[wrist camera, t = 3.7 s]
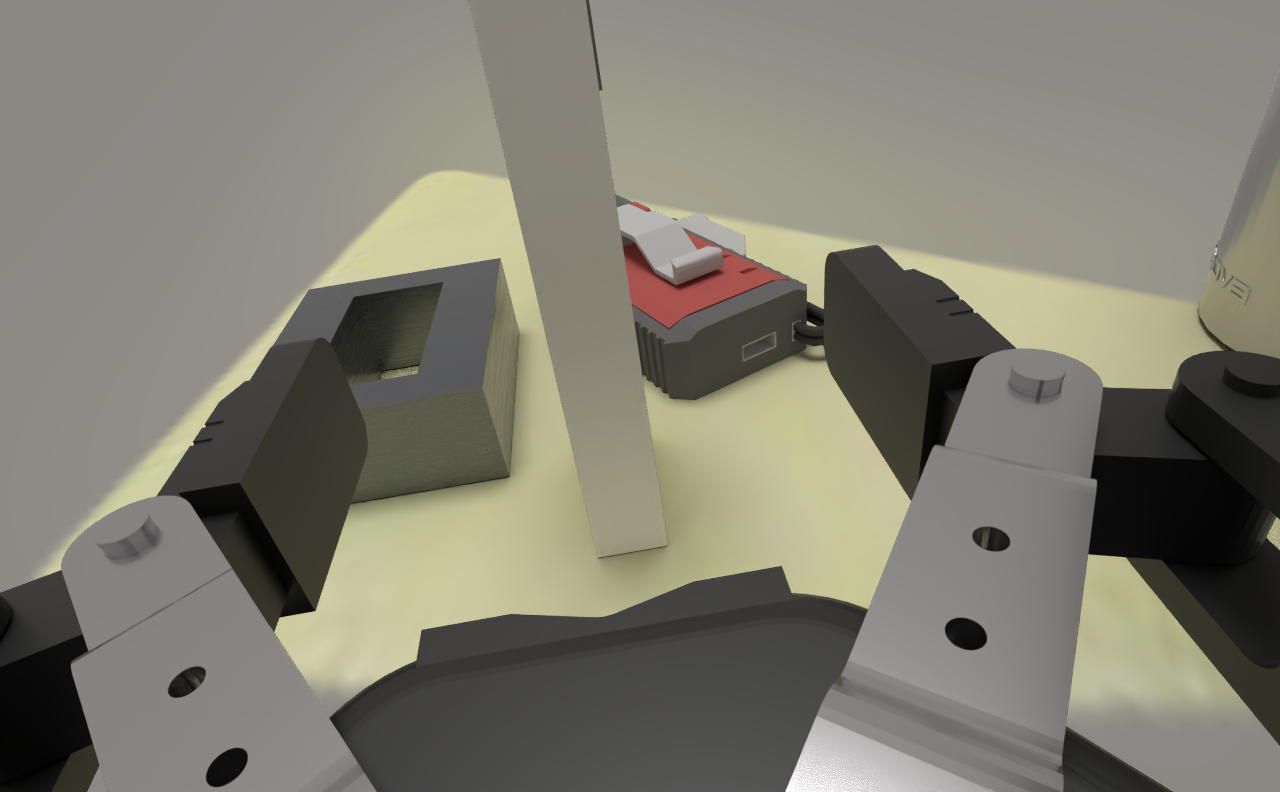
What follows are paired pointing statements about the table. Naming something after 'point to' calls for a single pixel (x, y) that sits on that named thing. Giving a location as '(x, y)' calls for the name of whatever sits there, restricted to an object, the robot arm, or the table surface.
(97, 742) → the robot arm
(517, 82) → the white tall block
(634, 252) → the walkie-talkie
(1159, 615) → the table surface
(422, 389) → the holder
